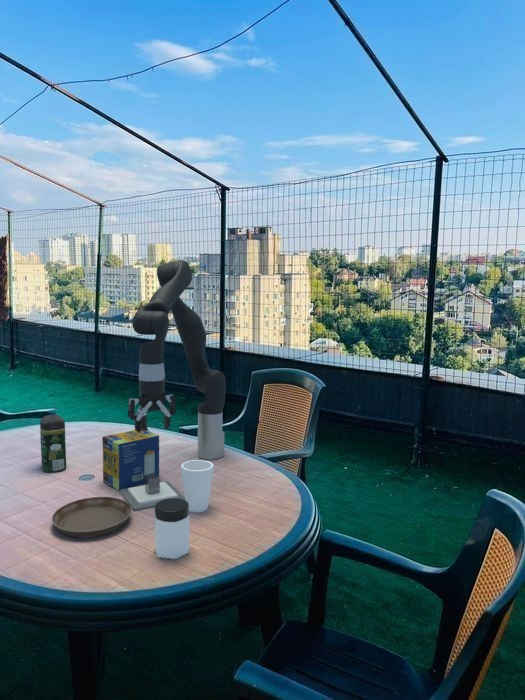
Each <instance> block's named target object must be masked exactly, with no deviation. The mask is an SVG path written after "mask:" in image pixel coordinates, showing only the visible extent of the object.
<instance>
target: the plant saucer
mask: <svg viewBox="0 0 525 700" xmlns="http://www.w3.org/2000/svg"><path fill="white" fill-rule="evenodd" d="M132 510H133V509H132V508H131V506H130V505H129V504H128V502H127V501H126V500H124V499H120V498H117V497H111V496H95V497H94V496H93V497H85V498H81V499H78V500H74V501H71V502H69V503H67V504H64V505H63V506H61V507H59V508H58V509H57V510H55V511H54V513H53V514H52V517H51V521H52V523H53V525H54V526H55V528H56V529H57V530H59V531H60V532H62V533H63V534H64V535H66V536H70V537H74V538H94V537H99V536H100V537H101V536H104V535H107V534H109V533H111V532H114V531H115V530H117V529H119V528H120V527H122V526H123V524H124V523H125V522H126V521H127V520H128V519H129V518H130V516H131V513H132Z"/></svg>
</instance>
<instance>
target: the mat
mask: <svg viewBox="0 0 525 700" xmlns="http://www.w3.org/2000/svg"><path fill="white" fill-rule="evenodd" d="M164 482H165V483H166V484H167V485H168V486H169V487H170V488H171V489H172V490H173V491H174V492H175V493H176V494H177V495H178V498H179V499H183V500H185V495H184V494H182V493H181V492H180V491H179V490H178V489H177V488H176V487H175V486H174V485H173V484H172V483H171V481H169V480H165V481H164ZM143 485H144V484H142V485H141V486H143ZM135 487H137V486H135ZM119 490H120V491H119V492H120V494H121V495H122V496H123V498H124V499H125V501H126V502H127V503H128V504H129V505H130V506H131V509H132V510H133V512H137V511H142V510H146V509H151V508H155V505H156V503H158V502H159V501H158V502H153V503H148V504H143V505H138V503H137V502H136V501H135V499H134V498H133V497H132V495H131V494H130V493H129V492H128V488H125V489H119Z"/></svg>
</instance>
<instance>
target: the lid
mask: <svg viewBox="0 0 525 700" xmlns="http://www.w3.org/2000/svg"><path fill="white" fill-rule="evenodd" d="M160 480H161V477H160V475H159V476H158V475H157V474H156V473H155V474H149V475H145V484H142V485H143V486H142V485H138V486H137V487H136V486H135V487H131V488H128V492H129V493H130V494H131V495H132V497H133V498H134V499H135V501H136V502H137V503H138V505H143V504H148V503H153V502H158V501H161V500H164V499H168V498H178V495H177V494H176V493H175V492H174V491H173V490H172V489H171V488H170V487H169V486H168V485H167V484H166V483H165V481H160Z"/></svg>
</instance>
